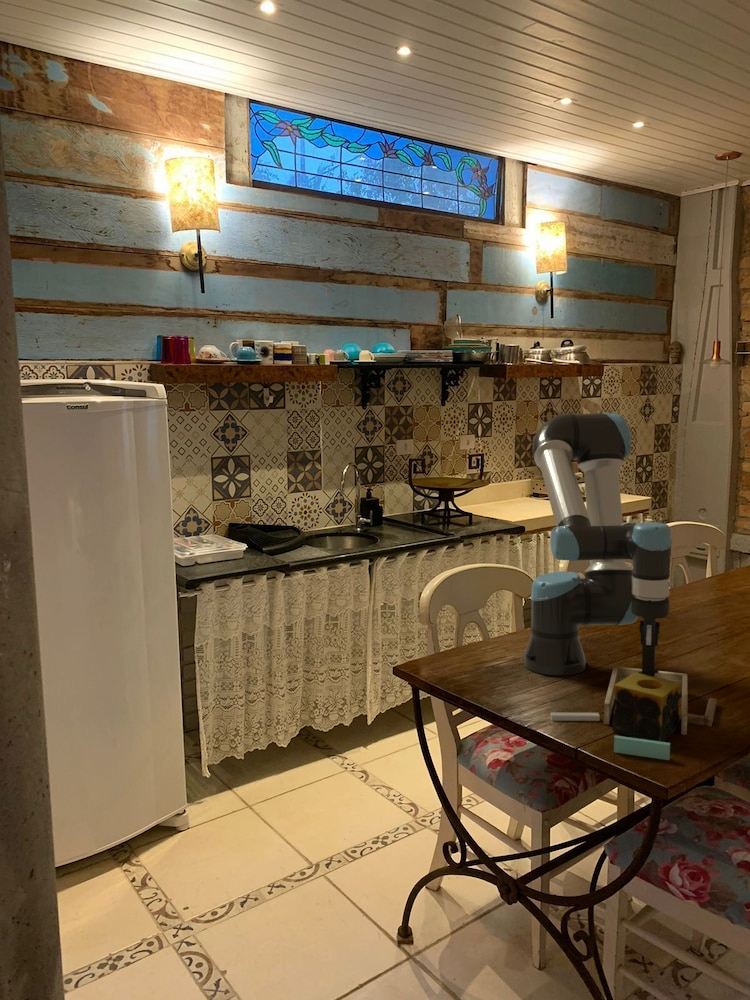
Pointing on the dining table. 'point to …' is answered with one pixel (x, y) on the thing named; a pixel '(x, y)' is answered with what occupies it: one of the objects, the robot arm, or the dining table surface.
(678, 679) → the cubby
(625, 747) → the bar
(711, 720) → the crook tool
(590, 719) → the grey stick
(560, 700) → the dining table surface
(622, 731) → the candle
